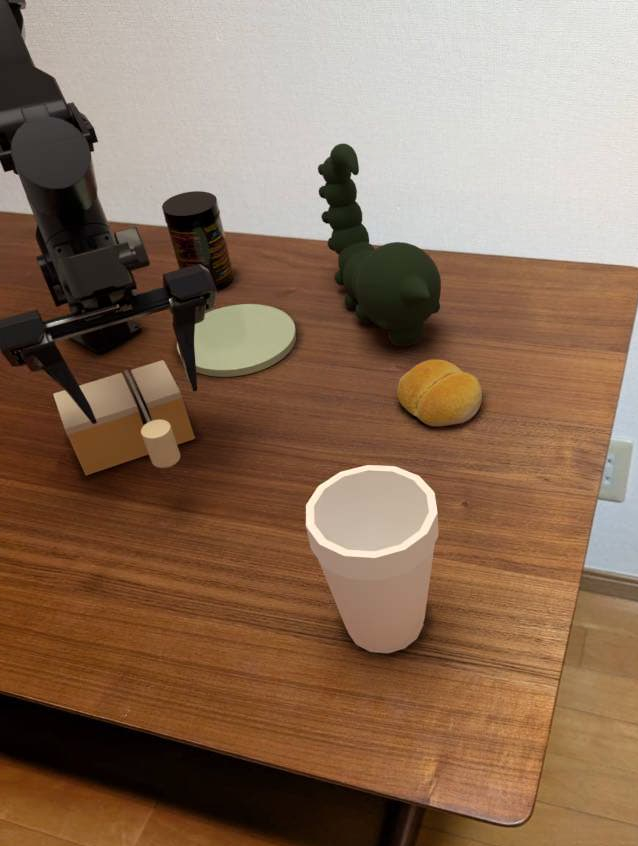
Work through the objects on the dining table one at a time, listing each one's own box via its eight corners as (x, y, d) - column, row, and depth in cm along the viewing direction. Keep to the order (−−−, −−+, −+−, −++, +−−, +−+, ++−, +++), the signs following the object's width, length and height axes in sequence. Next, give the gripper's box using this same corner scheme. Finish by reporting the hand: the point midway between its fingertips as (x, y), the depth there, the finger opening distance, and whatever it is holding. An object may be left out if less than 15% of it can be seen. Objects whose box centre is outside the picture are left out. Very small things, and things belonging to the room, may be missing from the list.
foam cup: (328, 584, 72) (306, 471, 62) (434, 573, 72) (429, 458, 62) (330, 675, 65) (306, 564, 56) (447, 663, 65) (443, 551, 56)
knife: (129, 416, 89) (102, 344, 83) (152, 408, 90) (127, 336, 83) (172, 515, 78) (144, 441, 72) (198, 506, 79) (173, 431, 72)
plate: (154, 351, 98) (151, 344, 98) (240, 299, 105) (238, 292, 105) (235, 391, 92) (233, 384, 91) (320, 333, 99) (319, 325, 98)
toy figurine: (316, 297, 108) (395, 380, 90) (287, 142, 95) (373, 204, 78) (381, 277, 110) (471, 355, 93) (362, 124, 98) (462, 181, 80)
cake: (73, 440, 88) (52, 393, 83) (138, 418, 89) (121, 372, 85) (85, 475, 83) (64, 428, 79) (153, 452, 85) (136, 405, 81)
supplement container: (239, 267, 111) (222, 190, 104) (228, 293, 107) (210, 214, 99) (190, 268, 112) (169, 191, 104) (177, 294, 107) (155, 216, 100)
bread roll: (442, 440, 84) (441, 409, 81) (386, 402, 89) (383, 371, 86) (500, 405, 87) (501, 373, 84) (443, 369, 92) (442, 338, 89)
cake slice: (147, 416, 90) (130, 369, 85) (178, 406, 91) (163, 359, 86) (162, 450, 86) (145, 402, 81) (195, 438, 86) (180, 391, 82)
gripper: (-55, 230, 63) (24, 424, 64) (183, 172, 68) (253, 352, 69) (-23, 280, 74) (45, 445, 75) (181, 226, 79) (241, 382, 80)
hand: (145, 406), depth 74 cm, fingers open, 9 cm apart
